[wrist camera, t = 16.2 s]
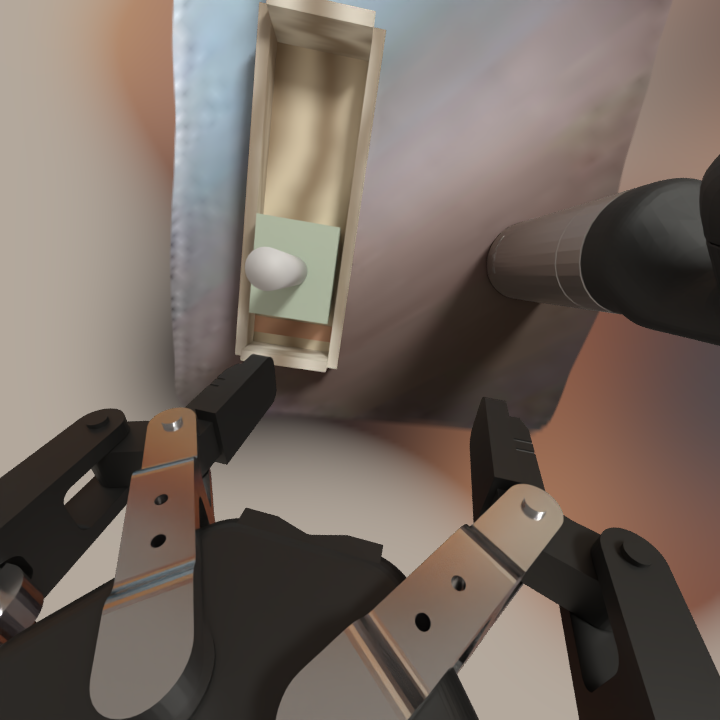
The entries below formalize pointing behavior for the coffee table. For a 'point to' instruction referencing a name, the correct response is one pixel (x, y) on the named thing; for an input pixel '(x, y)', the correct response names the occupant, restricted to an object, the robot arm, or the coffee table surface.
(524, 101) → the coffee table surface
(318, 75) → the bay
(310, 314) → the green block with post
